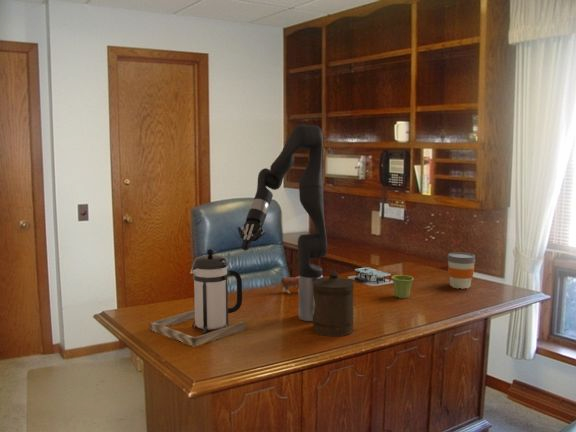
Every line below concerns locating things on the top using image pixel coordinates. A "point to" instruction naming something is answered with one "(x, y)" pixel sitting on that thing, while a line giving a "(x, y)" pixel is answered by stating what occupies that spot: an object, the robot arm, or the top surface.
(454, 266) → the reusable coffee cup
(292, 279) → the bull figurine
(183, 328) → the top surface
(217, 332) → the birch stand
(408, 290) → the plant pot
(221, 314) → the coffee press
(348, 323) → the wooden container
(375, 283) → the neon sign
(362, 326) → the top surface
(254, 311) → the top surface
